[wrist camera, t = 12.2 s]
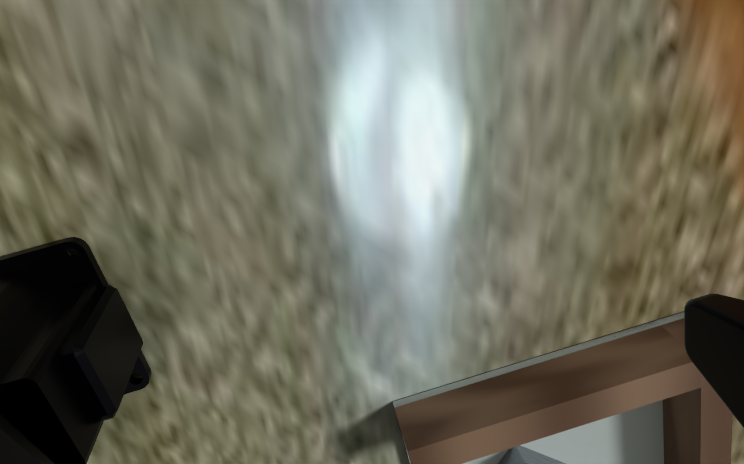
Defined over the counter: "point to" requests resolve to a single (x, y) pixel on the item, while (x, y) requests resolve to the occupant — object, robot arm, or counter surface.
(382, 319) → the counter surface
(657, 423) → the mat
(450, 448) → the corner walls
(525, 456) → the bracket
